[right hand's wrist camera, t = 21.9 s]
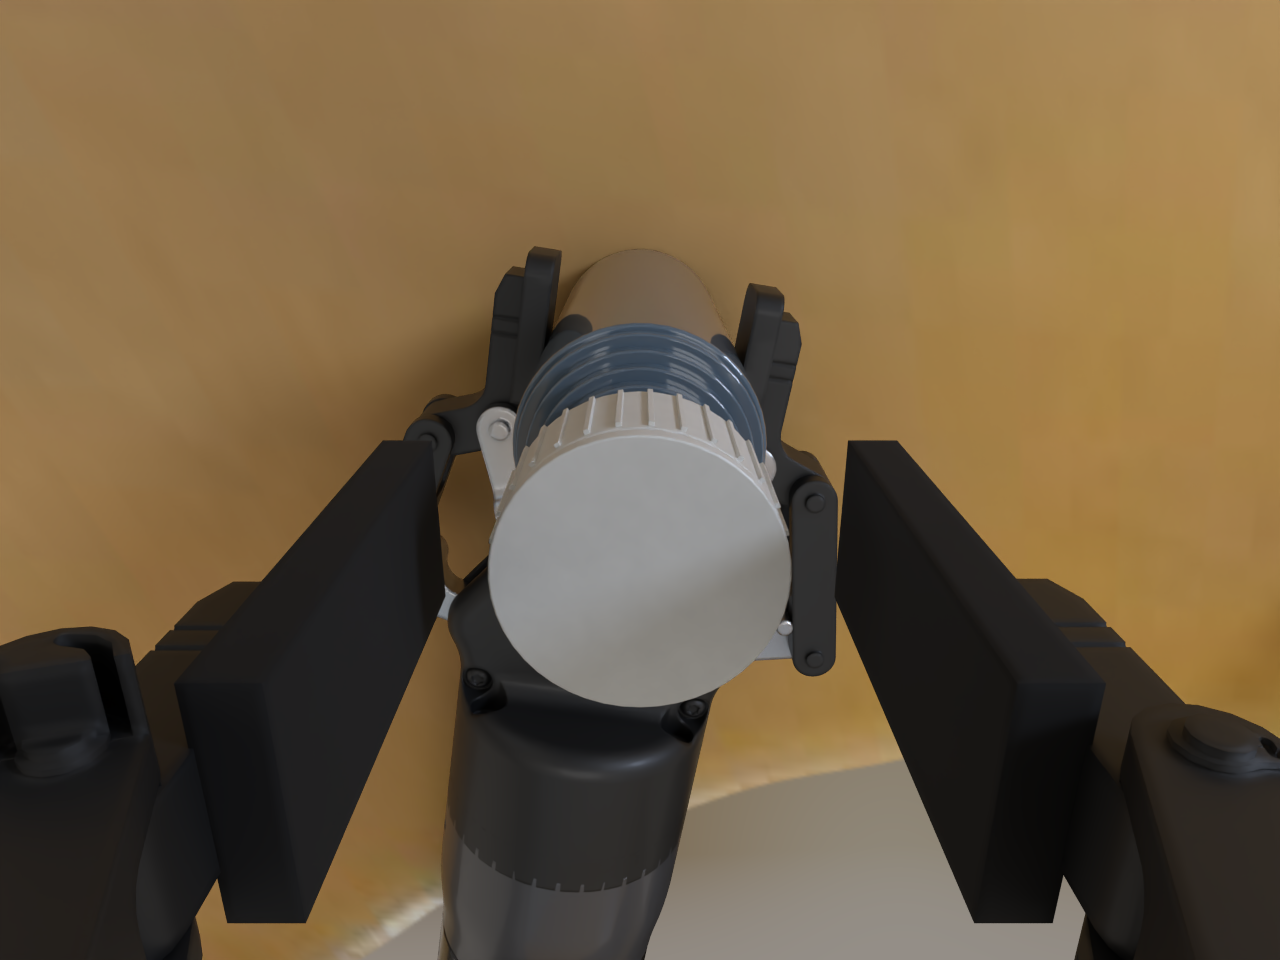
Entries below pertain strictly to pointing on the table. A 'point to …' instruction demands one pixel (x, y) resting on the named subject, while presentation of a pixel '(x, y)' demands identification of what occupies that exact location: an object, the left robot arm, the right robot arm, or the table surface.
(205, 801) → the right robot arm
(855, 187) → the table surface
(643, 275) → the bottle
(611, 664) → the cap
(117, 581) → the table surface
